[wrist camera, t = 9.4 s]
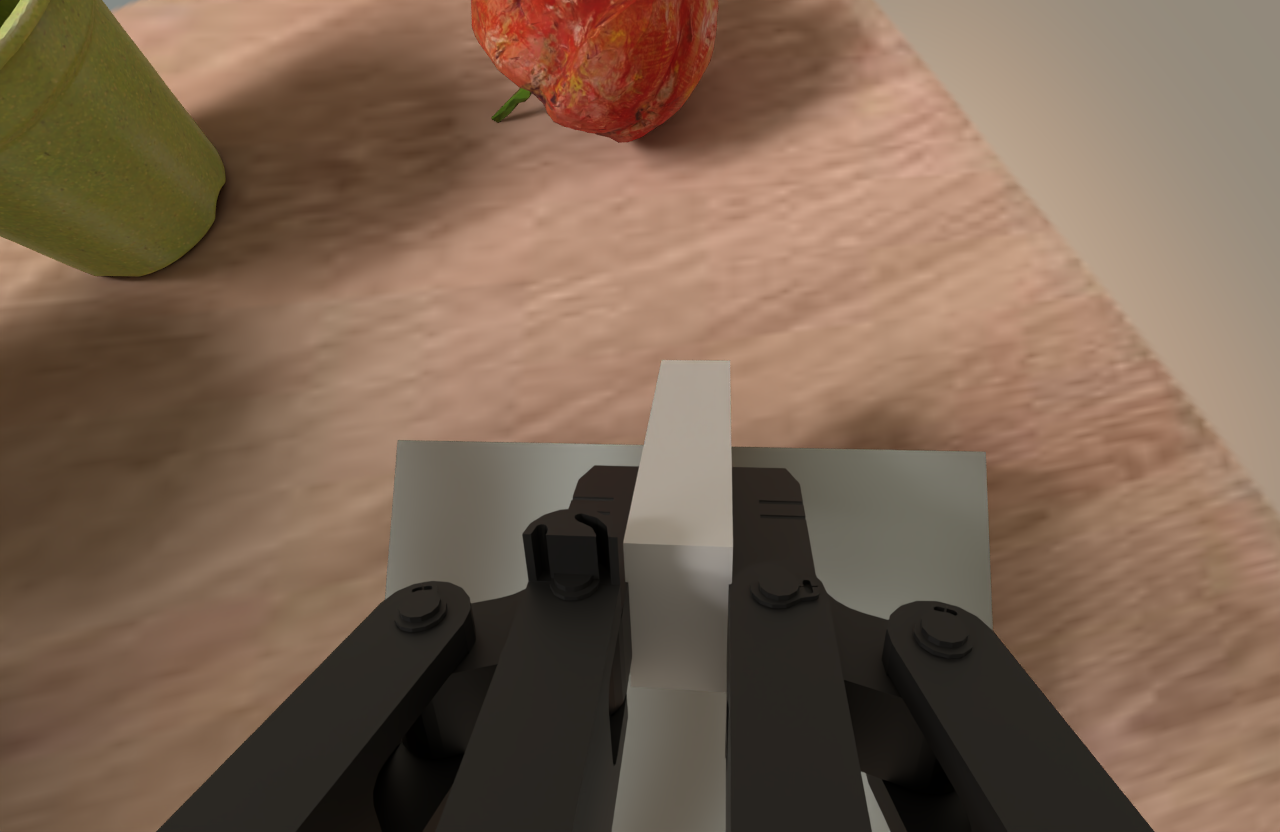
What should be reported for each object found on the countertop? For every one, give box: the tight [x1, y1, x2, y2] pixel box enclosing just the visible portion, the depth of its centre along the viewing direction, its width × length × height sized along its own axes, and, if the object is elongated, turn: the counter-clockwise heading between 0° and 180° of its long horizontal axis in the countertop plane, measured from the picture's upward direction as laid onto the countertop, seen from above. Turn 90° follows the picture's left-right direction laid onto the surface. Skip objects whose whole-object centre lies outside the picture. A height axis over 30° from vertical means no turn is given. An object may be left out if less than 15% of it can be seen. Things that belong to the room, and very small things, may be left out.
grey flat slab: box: [385, 440, 993, 832], centre depth 17 cm, size 14×10×1 cm
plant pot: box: [0, 0, 225, 276], centre depth 20 cm, size 9×9×9 cm
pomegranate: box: [471, 0, 718, 143], centre depth 21 cm, size 7×7×10 cm
